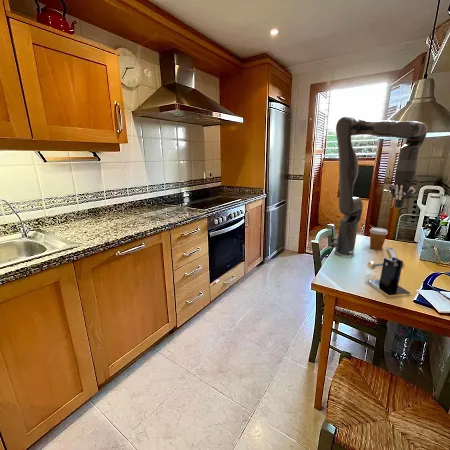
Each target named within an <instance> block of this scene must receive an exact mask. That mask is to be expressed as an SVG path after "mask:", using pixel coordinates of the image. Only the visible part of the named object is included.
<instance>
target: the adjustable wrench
mask: <svg viewBox="0 0 450 450" xmlns="http://www.w3.org/2000/svg"><path fill="white" fill-rule="evenodd" d="M387 251H388V254H389V256H390V258H389V259H390V260H392V257H395V258H397V259H399V258H398V257H397V255H396V252H395V249H394V248H393V247H388V248H387ZM403 264H404V263H403ZM403 264H402V266H403Z"/></svg>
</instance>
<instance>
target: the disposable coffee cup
mask: <svg viewBox="0 0 450 450" xmlns="http://www.w3.org/2000/svg"><path fill="white" fill-rule="evenodd" d="M369 232H370V233H369V248H370V249H373V250H377V251H379V250H380V251H381V250H382V249H383V246H384V243H385V241H386V238H387V235H388V234H389V231H388V229H386V228H383V227H371V228H370V229H369Z"/></svg>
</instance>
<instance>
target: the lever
mask: <svg viewBox="0 0 450 450" xmlns="http://www.w3.org/2000/svg"><path fill="white" fill-rule="evenodd" d="M392 261H394V262H395V263H394V266H398V262H397V260H392ZM377 267H383V262H381V263H376V262H374V261H369V262H368V263H367V268H368V269H369V270H371V271H373V270H376V269H377Z"/></svg>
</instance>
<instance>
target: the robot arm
mask: <svg viewBox="0 0 450 450" xmlns="http://www.w3.org/2000/svg"><path fill="white" fill-rule="evenodd" d="M335 134H336V141H337V148H338V169H339V170H338V174H339V196H338V209H339V211H340V213H341V214H342V215H344V216H343V217H342V218H341V219H340V220H339V226H338V232H337V233H338V234H337V236H336V238H332V239H331V242H332V241H335V242H336V243H335V242H333V243H331V246H332V247H334V248H335V249H334V252H335V254H336V255H338V256H340V257H342V256H348V257H349V256H354V254H355V247H356V239H357V234H358V233H357V231H358V226H359V223H360V222H361V218H362V214H363V209H364V208H363V207H364V204H363V201H362V199H361V198H359V197H357V196H354V193H353V192H354V186H355V183H356V180H357V178H358V175H359V158H358V156H357V154H356V151H355V149H354V147H353V143H352V137H353V136H360V135H361V136H362V135H369V136H374V137H380V138H397V139H404V140H405V139H406V142H405V144H404V145H403V146H402V147H401V148H400V150H399V155H398V160H397V162H396V163H397V164H396V168H395V173H394V182H393V184H392V185H389V186H388V189H389V191H390V193H391V196H392V198H395V204H394V205H395V208H397V209H402V208H403V207H404V203H405V200H409V199H411V197H413V196H414V195H415V194H416V192H417V191H418V189H417V188H414V187H413V186H414V181H415V179H416V175H417V169H418V165H419V159H420V151H421V148H422V146H423V144H424V142H425V139H426V138H427V134H428V126H427V124H426V123H425V122H422V121H414V120H412V121H411V120H408V121H407V120H405V121H398V120H375V121H368V120H362V119H359V118H356V117H351V116H350V117H349V116H343V117H340V118H339V119H338V121H337V122H336V126H335Z"/></svg>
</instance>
